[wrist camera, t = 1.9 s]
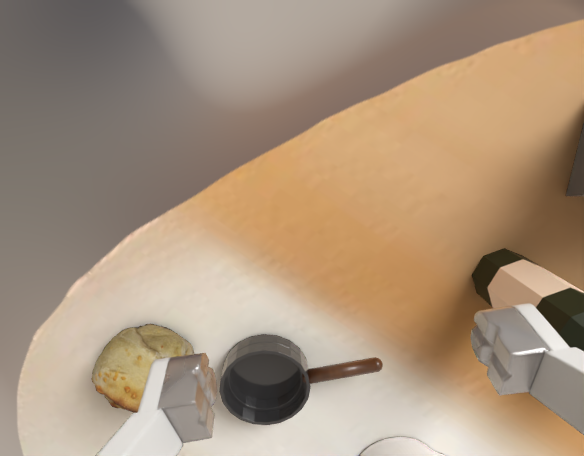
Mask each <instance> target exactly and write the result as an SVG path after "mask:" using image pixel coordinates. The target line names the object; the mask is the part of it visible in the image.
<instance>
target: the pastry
mask: <svg viewBox="0 0 584 456" xmlns="http://www.w3.org/2000/svg"><path fill="white" fill-rule="evenodd" d="M193 354H194V351H193V348H192V345H191V344H190V343H189V342H188V341H187V340H185V339H184V338H182V337H181V336H179V335H178V334H177V333H175V332H173V331H172V330H170V329H168V328H166V327H162V326H161V327H160V326H157V325H154V324H146V325H145V326H140V327H139V328H137V327H132V328H127V329H125V330H123V331H121V332H120V333H119V334H117V336H115V337H114V338H113V339H112V340H111V341H110V342H109V343H108V344H107V345H106V347H105V348H104V350H103V352H102V353H101V355H100V356H99V357H98V359H97V361H96V364H95V367H94V369H93V373H92V382H93V383H94V384H95V387H96V391H98V392H99V393H101V394H104V396H105V398H106V399H107V400H108V401H109V403H110V404H111V406H112V407H115V408H122V409H126V410H129V411H132V412H135V413H137V412H138V409H139V406H140V402H141V399H142V395H143V392H144V388H145V385H146V381H147V377H148V374H149V370H150V367H151V364H152V363H153V361H154V360H155V359H162V358H169V357H177V356H185V355H193Z"/></svg>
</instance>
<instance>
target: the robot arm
mask: <svg viewBox="0 0 584 456" xmlns="http://www.w3.org/2000/svg"><path fill="white" fill-rule="evenodd" d="M474 321H475V323H476V324H477V325H476V326H475V327H474V328H473V329H472V331H471V343H472V348H473V350H474V353H475V355H476V357H477V358H478V360H479V361H480V362H481V363H483V364H484V365H486V366H487V367H488V371H487V376H488V377H489V379H490V381H491V383H492V384H493V386H494V388H495V389H496V391H497V393H498V394H499V395H507V394H515V393H523V392H529V394H531V395H532V396H533V397H535V398H536V399H537V400H538V401H540V402H541V403H542V404H544V405H545V406H546V407H548V408H549V409H550V410H552V411H553V412H554V413H556V414H557V415H558V416H559V417H561V418H562V419H563V420H565V421H566V422H567V423H569V424H570V425H571V426H573V427H574V428H575V429H576V430H578V431H579V432H580V433H582V434H583V435H584V351H582V350H580V349H578V348H576V347H573V348H570V347H569V346H568V345H567V343H566V342H565V341H564V340H563V339H562V338H561V336H560V335H559V334H558V333H557V332H556V331H555V329H554V328H553V327H552V326H551V325H550V324H549V322H548V321H547V320H546V319H545V318H544V317H543V316H542V314H541V313H540V312H539V311H538V310H537V309H536V307H535V306H534V305H532V304H530V303H527V304H520V305H514V306H505V307H499V308H493V309H487V310H481V311H477V312H476V313H475V317H474ZM208 363H209V359H208V357H207V355H206V353H201V354H193V355H185V356H177V357H169V358H162V359H155V360H154V361H153V363H152V364H151V367H150V370H149V374H148V377H147V381H146V385H145V388H144V392H143V395H142V399H141V402H140V406H139V409H138V412H137V413H132V415H131V416H130V417H129V418H128V419H127V420H126V421H125V423H124V424H123V425H122V426H121V427H120V428H119V429H118V431H117V432H116V433H115V434H114V435H113V436H112V437H111V439H110V440H109V441H108V442H107V443H106V444H105V445H104V447H103V448H102V449H101V450H100V451H99V452H98V453H97V454H96V456H177V455H178V453H179V451H180V450H181V448H182V447H183V443H186V442H192V441H197V440H203V439H209V438H212V434H213V424H214V413H213V411H212V409H211V407H212V405H213V404H214V403H215V401H216V394H217V386H216V377H215V373H214V371H213V369H212V368H210V367H208ZM360 456H445V455H444V454H441V453H438V452H434V451H433V450H431V449H430V448H429V447H428V446H427V445H425V444H424V443H422V442H421V441H418V440H416V439H413V438H408V437H393V438H387V439H384V440H381V441H378V442H376V443H374V444H372V445H371V446H369V447H368V448H367V449H365V450H364V451H363V452H362V453H361V455H360Z"/></svg>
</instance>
